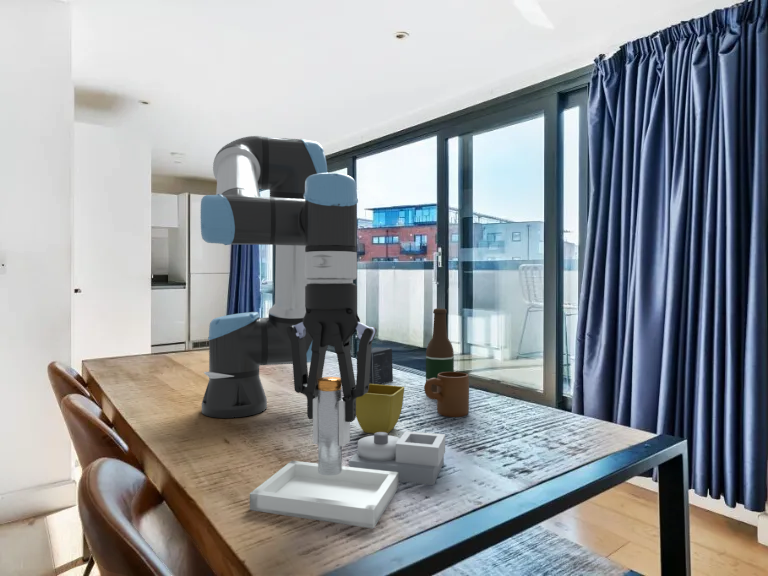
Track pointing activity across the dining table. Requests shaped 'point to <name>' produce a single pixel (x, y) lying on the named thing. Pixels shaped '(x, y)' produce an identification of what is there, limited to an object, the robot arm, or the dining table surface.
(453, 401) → the mug
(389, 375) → the box
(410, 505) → the dining table surface
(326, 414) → the pin
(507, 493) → the dining table surface
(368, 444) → the tensioner block
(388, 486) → the tray
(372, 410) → the flower pot
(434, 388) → the beer bottle
